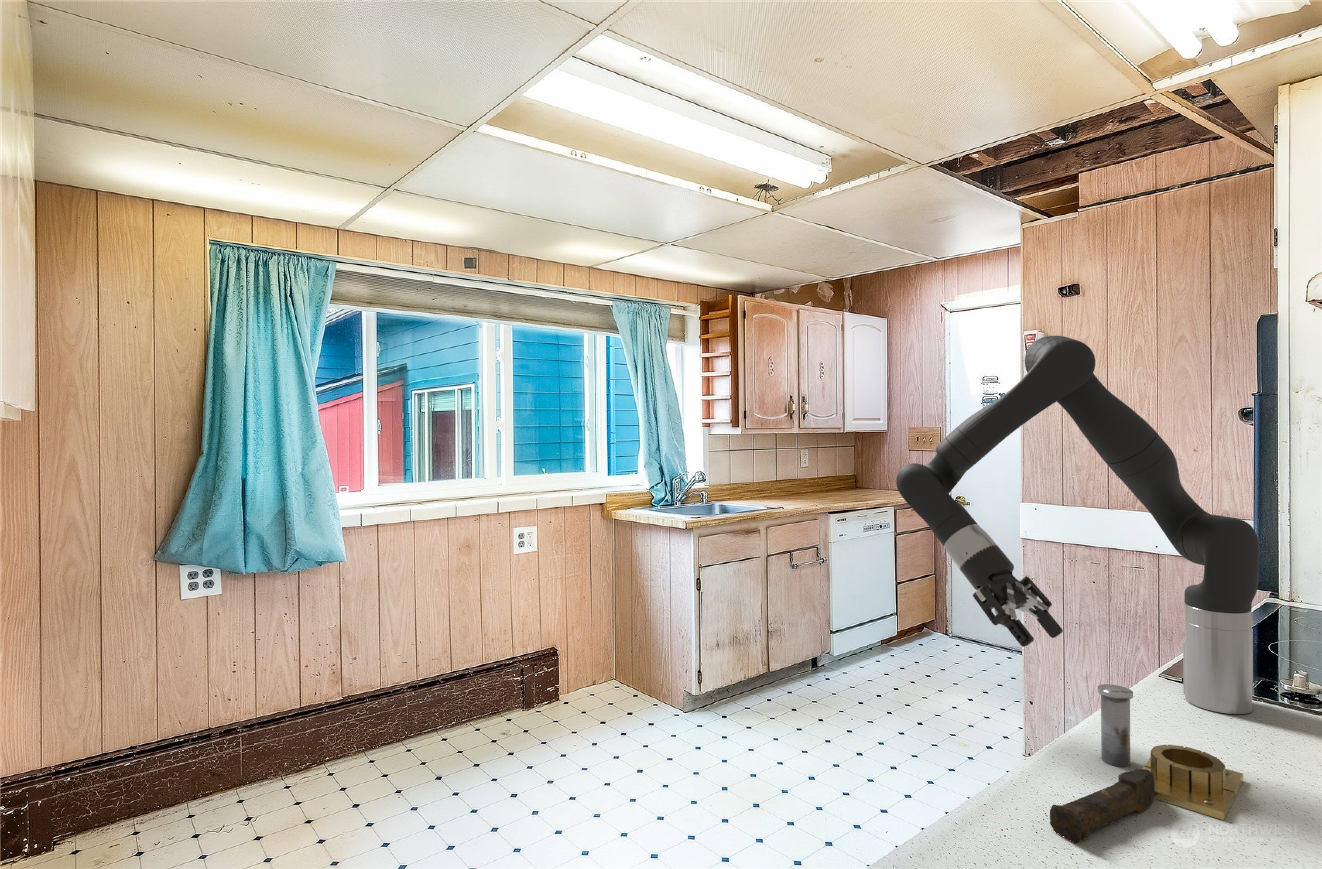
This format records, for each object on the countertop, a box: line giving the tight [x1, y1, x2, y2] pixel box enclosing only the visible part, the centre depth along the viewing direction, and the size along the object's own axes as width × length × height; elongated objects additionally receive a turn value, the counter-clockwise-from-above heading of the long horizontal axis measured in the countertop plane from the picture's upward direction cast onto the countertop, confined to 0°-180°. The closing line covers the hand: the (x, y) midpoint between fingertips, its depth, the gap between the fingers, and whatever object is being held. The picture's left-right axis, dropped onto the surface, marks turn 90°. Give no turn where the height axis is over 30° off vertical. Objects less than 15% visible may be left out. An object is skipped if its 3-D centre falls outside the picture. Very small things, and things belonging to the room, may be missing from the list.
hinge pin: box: [1097, 683, 1134, 768], centre depth 103 cm, size 4×4×11 cm
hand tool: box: [1049, 768, 1156, 843], centre depth 88 cm, size 19×4×5 cm, turn 114°
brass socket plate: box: [1141, 744, 1244, 821], centre depth 96 cm, size 14×10×4 cm
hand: (1043, 639), depth 111 cm, fingers open, 8 cm apart
